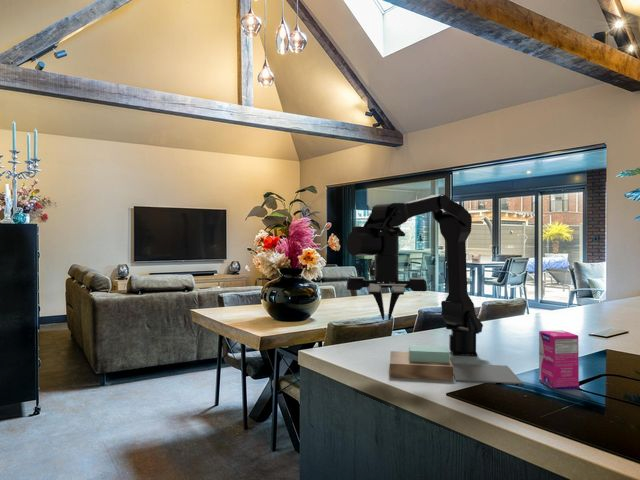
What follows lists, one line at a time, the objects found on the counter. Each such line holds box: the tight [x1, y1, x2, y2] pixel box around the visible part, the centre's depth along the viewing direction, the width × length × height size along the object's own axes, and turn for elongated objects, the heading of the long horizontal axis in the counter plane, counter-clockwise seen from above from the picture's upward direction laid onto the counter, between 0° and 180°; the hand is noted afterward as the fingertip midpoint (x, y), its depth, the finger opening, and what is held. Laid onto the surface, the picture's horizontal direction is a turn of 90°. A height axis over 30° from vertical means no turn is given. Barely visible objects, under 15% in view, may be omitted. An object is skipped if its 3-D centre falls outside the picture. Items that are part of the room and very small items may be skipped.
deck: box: [389, 350, 454, 381], centre depth 109 cm, size 14×12×3 cm
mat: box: [451, 362, 524, 386], centre depth 107 cm, size 14×14×1 cm
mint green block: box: [408, 344, 450, 363], centre depth 109 cm, size 9×6×2 cm, turn 81°
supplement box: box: [538, 329, 580, 390], centre depth 99 cm, size 6×6×12 cm
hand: (386, 319), depth 111 cm, fingers closed
